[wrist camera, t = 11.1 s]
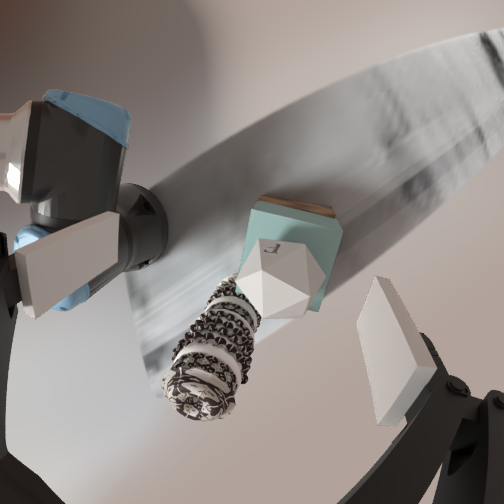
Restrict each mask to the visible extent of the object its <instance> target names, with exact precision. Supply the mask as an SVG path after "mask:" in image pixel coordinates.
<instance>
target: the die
mask: <svg viewBox="0 0 504 504" xmlns="http://www.w3.org/2000/svg"><path fill="white" fill-rule="evenodd" d="M325 277H326V275H325V274H324V272H323V271H322V269H321V268H320V266H319V265H318V263H317V262H316V260H315V259H314V257H313V256H312V254H311V252H310V251H309V249H308V248H307V246H306V245H305V244H301V243H293V242H285V241H277V240H269V239H261V238H258V240H257V242H256V244H255V245H254V247H253V249H252V251H251V253H250V254H249V256H248V258H247V260H246V262H245V263H244V265H243V267H242V269H241V271H240V272H239V274H238V276H237V278H236V280H235V283H236V284H237V285H238V287H239V288H240V289H241V291H242V292H243V293H244V294H245V296H246V297H247V298H248V300H249V301H250V302H251V304H252V305H253V306H254V308H255V309H256V310H257V311H258V313H259V314H260V315H261V317H262V318H263V319H277V318H303V316H304V315H305V313H306V311H307V310H308V308H309V306H310V304H311V303H312V301H313V299H314V297H315V295H316V294H317V292H318V290H319V288H320V287H321V285H322V283H323V281H324V279H325Z"/></svg>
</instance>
